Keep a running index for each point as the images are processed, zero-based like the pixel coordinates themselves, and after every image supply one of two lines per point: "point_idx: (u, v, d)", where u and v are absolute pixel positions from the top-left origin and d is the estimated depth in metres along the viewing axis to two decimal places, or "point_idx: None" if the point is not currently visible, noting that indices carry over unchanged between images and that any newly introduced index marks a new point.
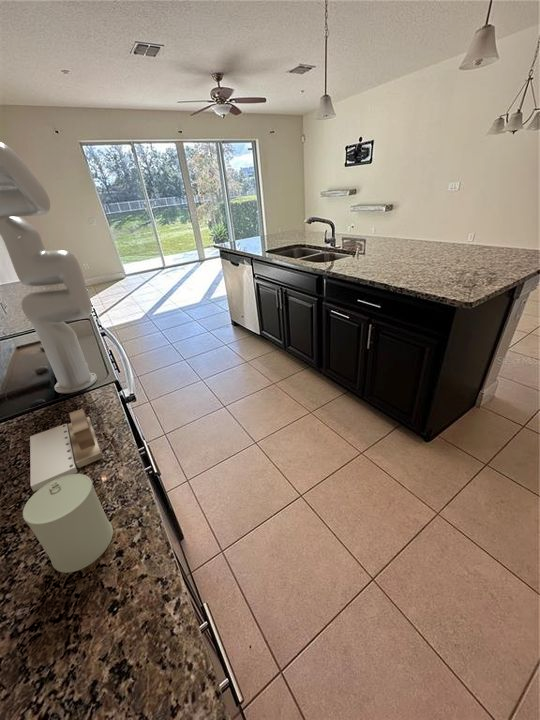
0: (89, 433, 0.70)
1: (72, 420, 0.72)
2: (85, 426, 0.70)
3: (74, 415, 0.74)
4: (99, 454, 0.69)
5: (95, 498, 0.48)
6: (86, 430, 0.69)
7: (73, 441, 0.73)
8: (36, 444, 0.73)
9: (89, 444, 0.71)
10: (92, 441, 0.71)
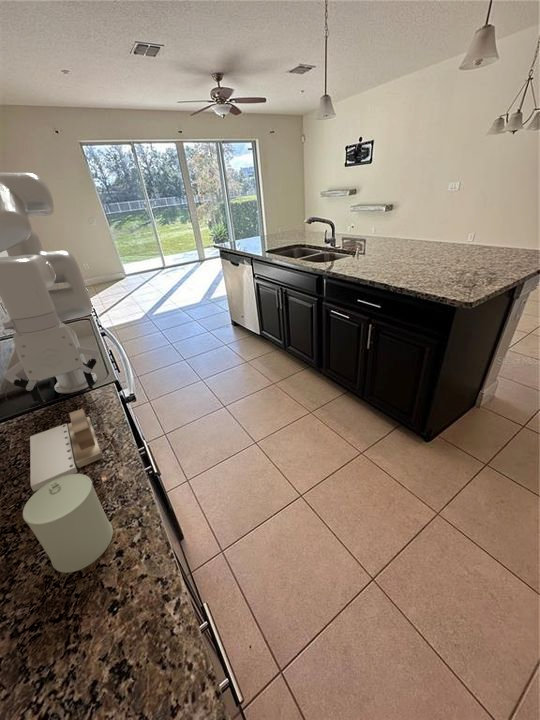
0: (89, 433, 0.70)
1: (72, 420, 0.72)
2: (85, 426, 0.70)
3: (74, 415, 0.74)
4: (99, 454, 0.69)
5: (95, 498, 0.48)
6: (86, 430, 0.69)
7: (73, 441, 0.73)
8: (36, 444, 0.73)
9: (89, 444, 0.71)
10: (92, 441, 0.71)
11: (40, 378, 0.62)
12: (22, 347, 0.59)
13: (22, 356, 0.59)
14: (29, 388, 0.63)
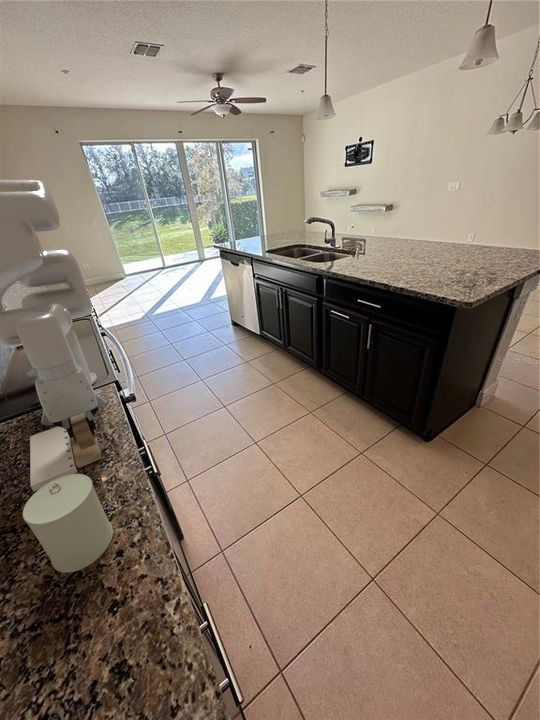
0: (89, 433, 0.70)
1: (72, 420, 0.72)
2: (85, 426, 0.70)
3: None
4: (99, 454, 0.69)
5: (95, 498, 0.48)
6: (86, 430, 0.69)
7: (73, 441, 0.73)
8: (36, 444, 0.73)
9: (89, 444, 0.71)
10: (92, 441, 0.71)
11: (59, 419, 0.67)
12: (43, 393, 0.64)
13: (43, 401, 0.64)
14: (66, 427, 0.70)
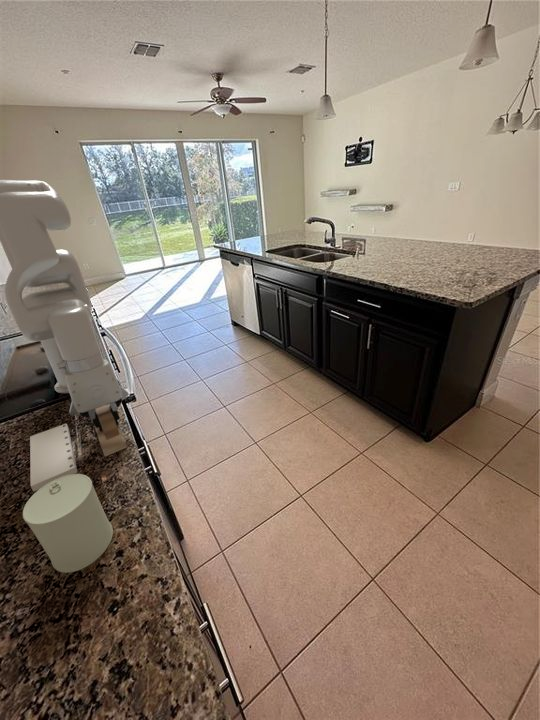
0: (114, 423, 0.73)
1: (97, 411, 0.75)
2: (110, 416, 0.73)
3: None
4: (124, 443, 0.72)
5: (95, 498, 0.48)
6: (112, 420, 0.72)
7: (98, 431, 0.76)
8: (36, 444, 0.73)
9: (114, 434, 0.73)
10: (117, 431, 0.74)
11: (87, 410, 0.70)
12: (73, 384, 0.67)
13: (73, 392, 0.67)
14: (93, 417, 0.73)
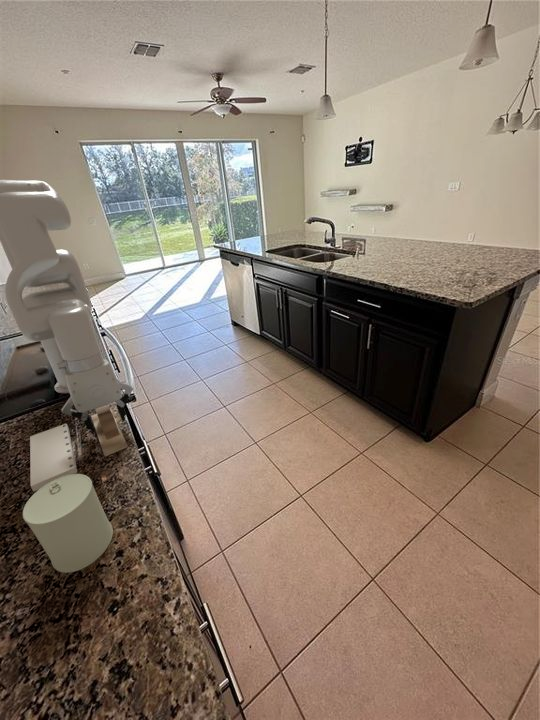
0: (114, 423, 0.73)
1: (97, 411, 0.75)
2: (110, 416, 0.73)
3: None
4: (124, 443, 0.72)
5: (95, 498, 0.48)
6: (112, 420, 0.72)
7: (98, 431, 0.76)
8: (36, 444, 0.73)
9: (114, 434, 0.73)
10: (117, 431, 0.74)
11: (87, 410, 0.70)
12: (73, 384, 0.67)
13: (73, 392, 0.67)
14: (84, 419, 0.72)
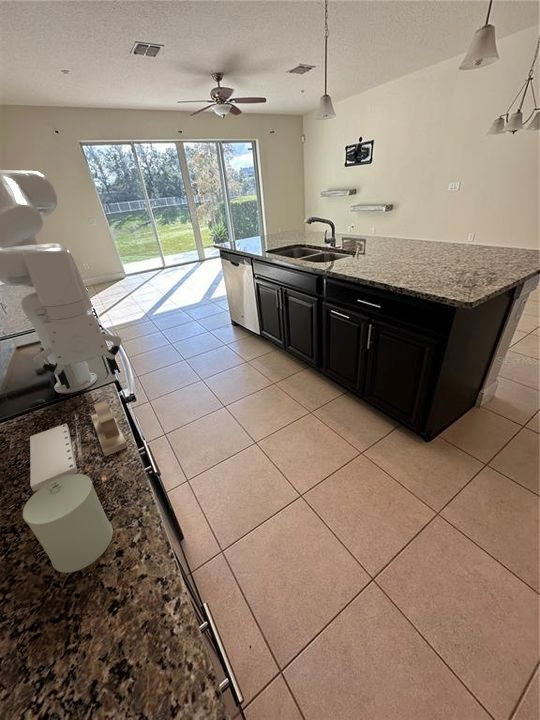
0: (114, 423, 0.73)
1: (97, 411, 0.75)
2: (110, 416, 0.73)
3: (99, 406, 0.77)
4: (124, 443, 0.72)
5: (95, 498, 0.48)
6: (112, 420, 0.72)
7: (98, 431, 0.76)
8: (36, 444, 0.73)
9: (114, 434, 0.73)
10: (117, 431, 0.74)
11: (68, 363, 0.65)
12: (53, 333, 0.62)
13: (52, 342, 0.62)
14: (57, 372, 0.66)
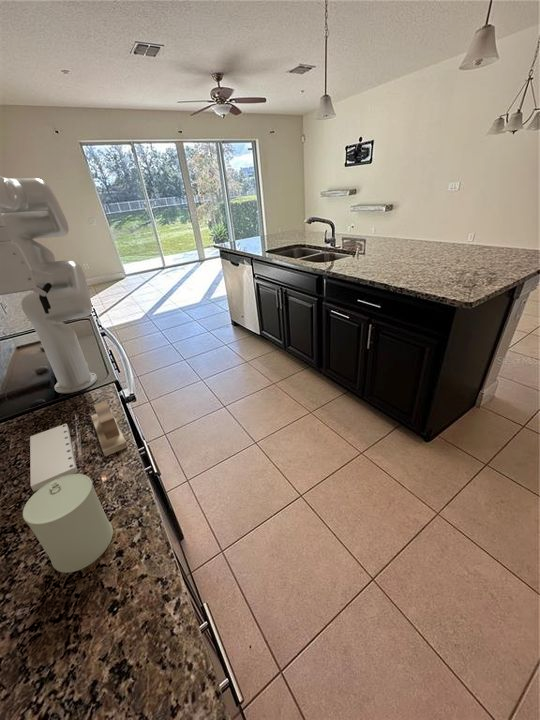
0: (114, 423, 0.73)
1: (97, 411, 0.75)
2: (110, 416, 0.73)
3: (99, 406, 0.77)
4: (124, 443, 0.72)
5: (95, 498, 0.48)
6: (112, 420, 0.72)
7: (98, 431, 0.76)
8: (36, 444, 0.73)
9: (114, 434, 0.73)
10: (117, 431, 0.74)
11: None
12: None
13: None
14: None
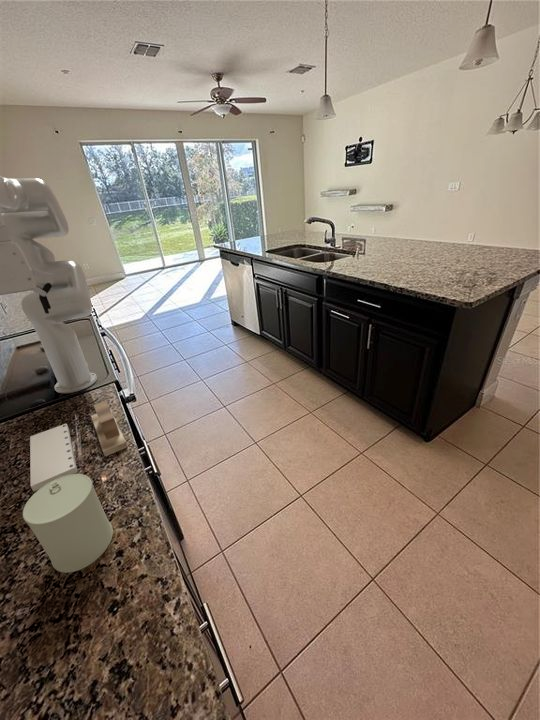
0: (114, 423, 0.73)
1: (97, 411, 0.75)
2: (110, 416, 0.73)
3: (99, 406, 0.77)
4: (124, 443, 0.72)
5: (95, 498, 0.48)
6: (112, 420, 0.72)
7: (98, 431, 0.76)
8: (36, 444, 0.73)
9: (114, 434, 0.73)
10: (117, 431, 0.74)
11: None
12: None
13: None
14: None
